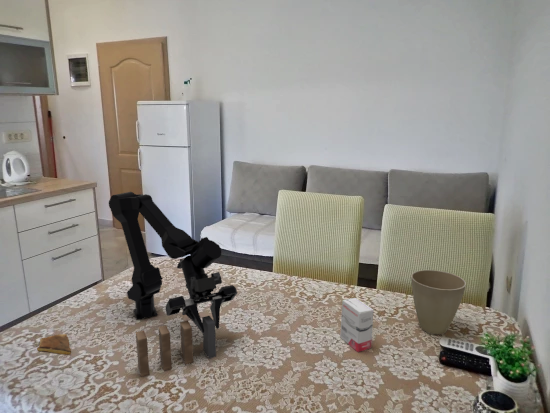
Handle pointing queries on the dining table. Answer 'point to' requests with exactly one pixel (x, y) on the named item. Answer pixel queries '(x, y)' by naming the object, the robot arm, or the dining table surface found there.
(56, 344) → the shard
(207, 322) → the dark gray rectangular block
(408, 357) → the dining table surface
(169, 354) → the domino
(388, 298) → the dining table surface
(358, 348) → the ink box
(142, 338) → the domino
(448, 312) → the plant pot
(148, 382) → the dining table surface
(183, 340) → the domino
